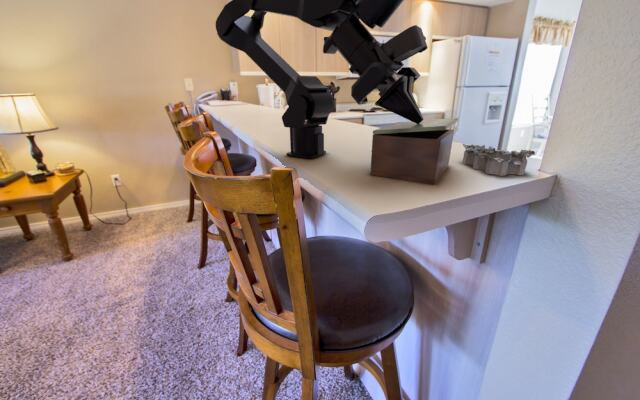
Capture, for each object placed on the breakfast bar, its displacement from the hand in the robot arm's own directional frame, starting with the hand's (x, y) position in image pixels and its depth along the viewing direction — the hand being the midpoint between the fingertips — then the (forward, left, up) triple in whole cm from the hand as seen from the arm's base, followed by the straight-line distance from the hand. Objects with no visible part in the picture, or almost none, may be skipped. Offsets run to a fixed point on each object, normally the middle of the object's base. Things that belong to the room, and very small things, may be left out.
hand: (420, 121), depth 48 cm
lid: (0, 0, -1) cm, 1 cm away
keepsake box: (-1, 0, -8) cm, 8 cm away
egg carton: (+11, +9, -9) cm, 17 cm away
